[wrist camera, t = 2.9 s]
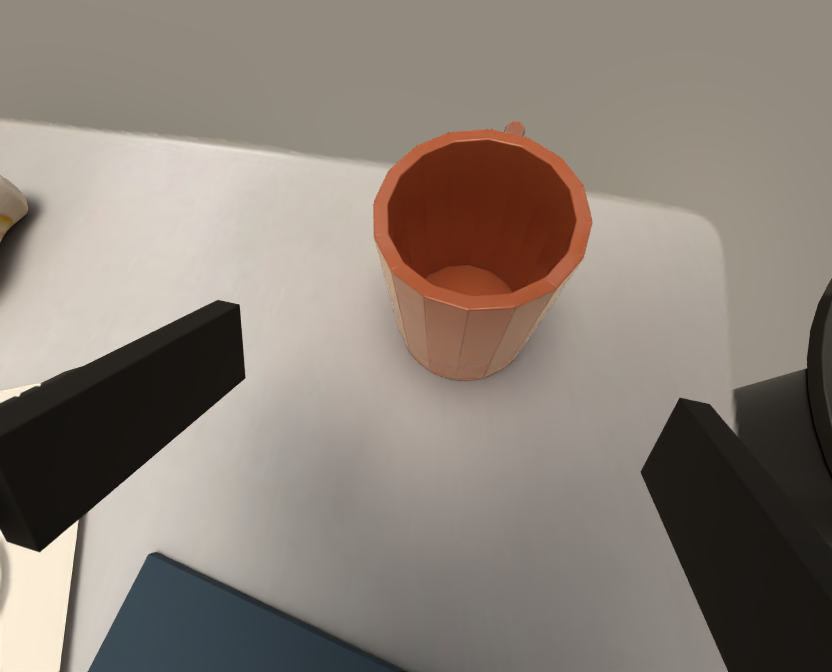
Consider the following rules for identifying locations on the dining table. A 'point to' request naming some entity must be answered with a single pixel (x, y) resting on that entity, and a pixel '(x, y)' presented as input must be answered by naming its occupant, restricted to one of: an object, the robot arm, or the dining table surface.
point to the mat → (215, 631)
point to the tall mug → (477, 245)
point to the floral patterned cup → (10, 205)
